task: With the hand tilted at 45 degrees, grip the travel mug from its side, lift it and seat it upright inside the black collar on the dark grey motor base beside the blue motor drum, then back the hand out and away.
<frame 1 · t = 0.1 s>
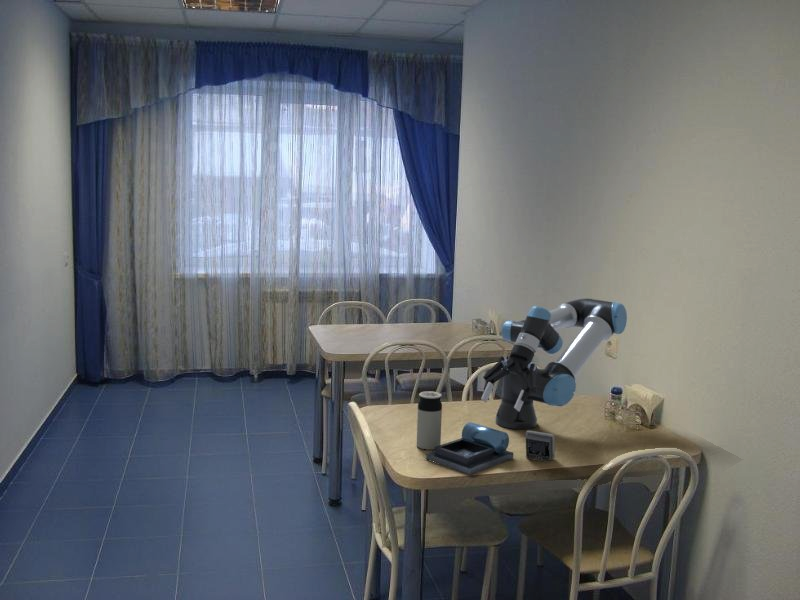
hand: (499, 405, 263), 15 cm above the table, tool tilted 35°, fingers open, 13 cm apart
motor base: (469, 459, 255), on the table
travel mug: (428, 447, 266), on the table
electrical switch: (539, 460, 257), on the table
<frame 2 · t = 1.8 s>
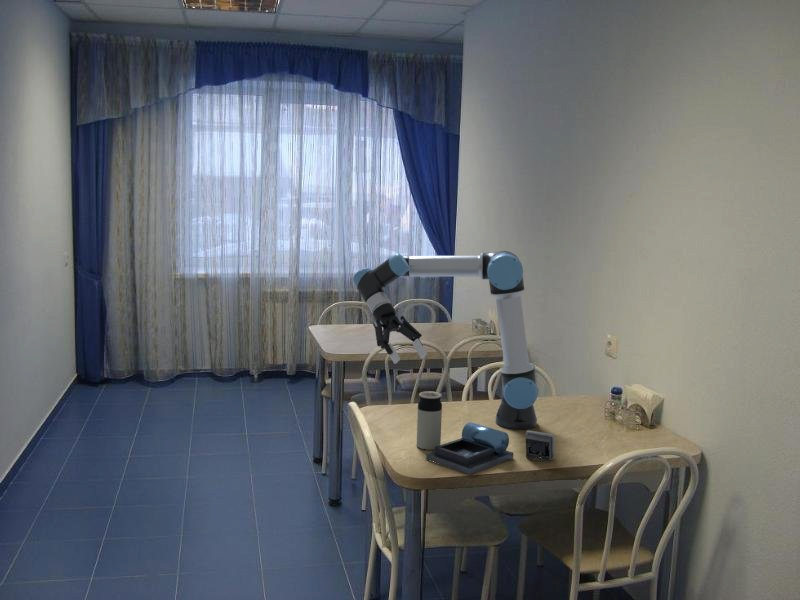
hand: (411, 359, 268), 28 cm above the table, tool tilted 45°, fingers open, 13 cm apart
nothing on the table moved.
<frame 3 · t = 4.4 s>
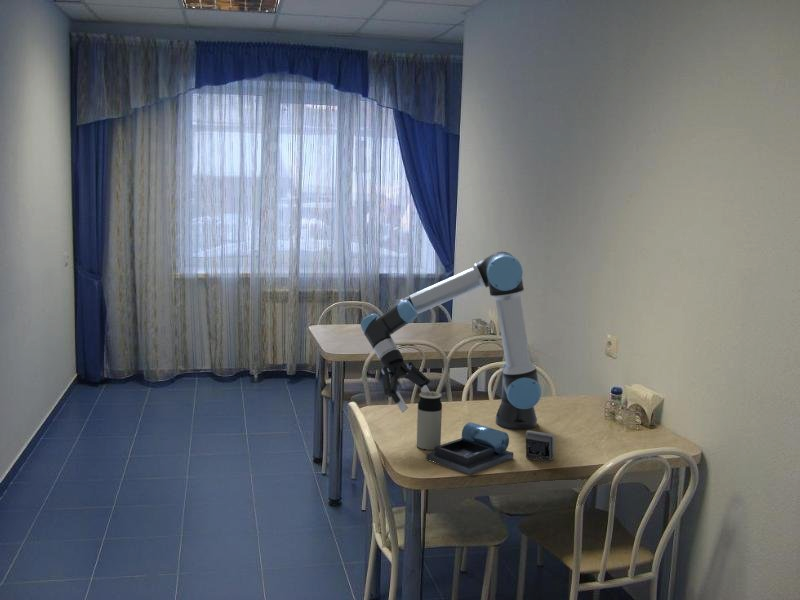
hand: (419, 406, 266), 13 cm above the table, tool tilted 45°, fingers open, 13 cm apart
nothing on the table moved.
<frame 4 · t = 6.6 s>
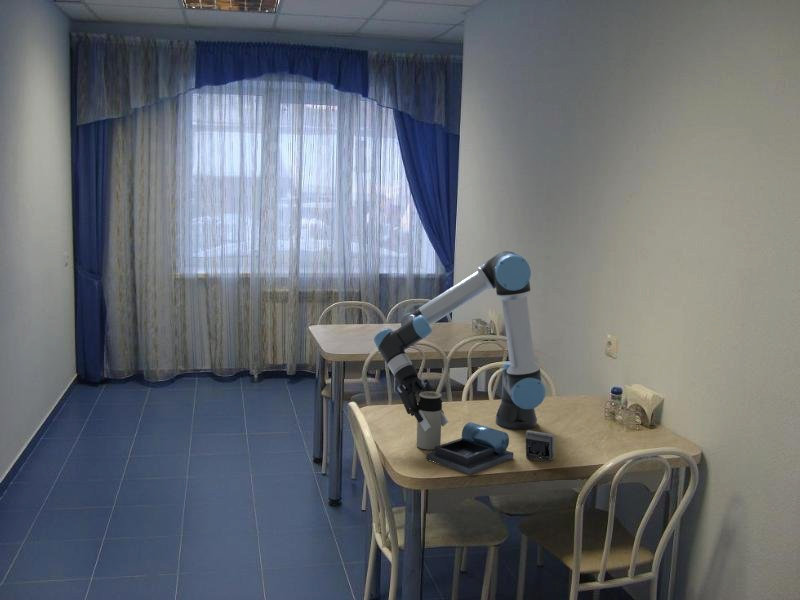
hand: (436, 426, 263), 8 cm above the table, tool tilted 45°, fingers closed on travel mug, 8 cm apart
travel mug: (428, 447, 266), on the table, touching gripper
everything else where it was.
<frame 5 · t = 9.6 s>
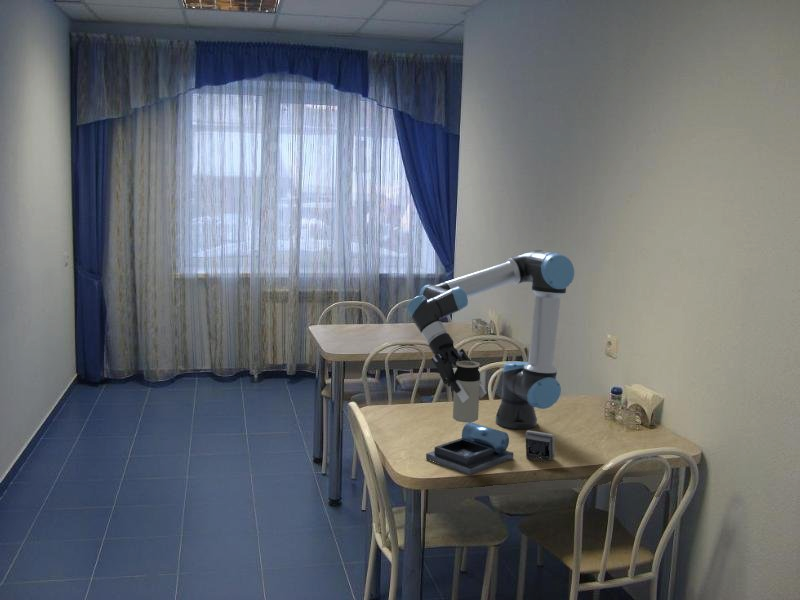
hand: (474, 397, 247), 21 cm above the table, tool tilted 45°, fingers closed on travel mug, 8 cm apart
travel mug: (465, 419, 251), point 14 cm above the table, touching gripper
everything else where it was.
when the fingers open (11 cm above the table, at t = 12.5 s): travel mug stays where it is, resting on motor base.
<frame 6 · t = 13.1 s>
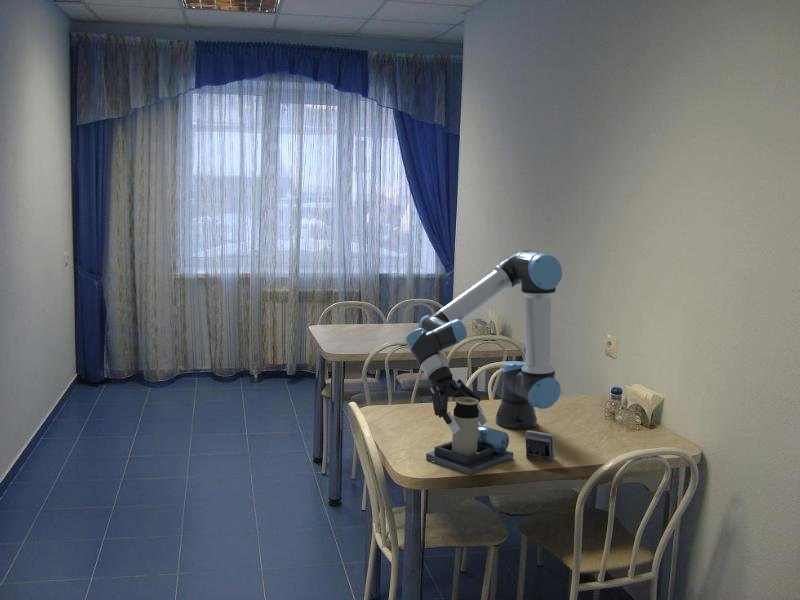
hand: (471, 427, 250), 12 cm above the table, tool tilted 45°, fingers open, 13 cm apart
travel mug: (464, 455, 253), point 2 cm above the table, touching motor base
everything else where it was.
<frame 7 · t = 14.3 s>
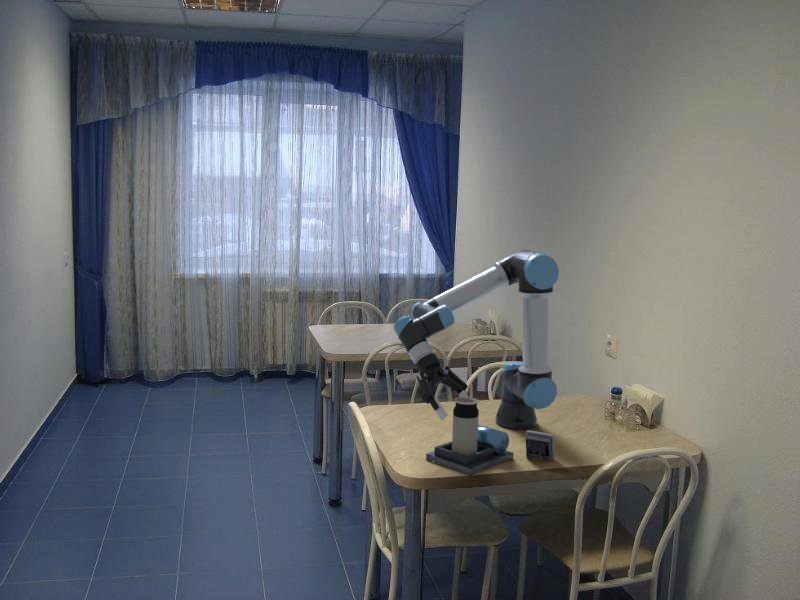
hand: (458, 413, 252), 15 cm above the table, tool tilted 45°, fingers open, 13 cm apart
nothing on the table moved.
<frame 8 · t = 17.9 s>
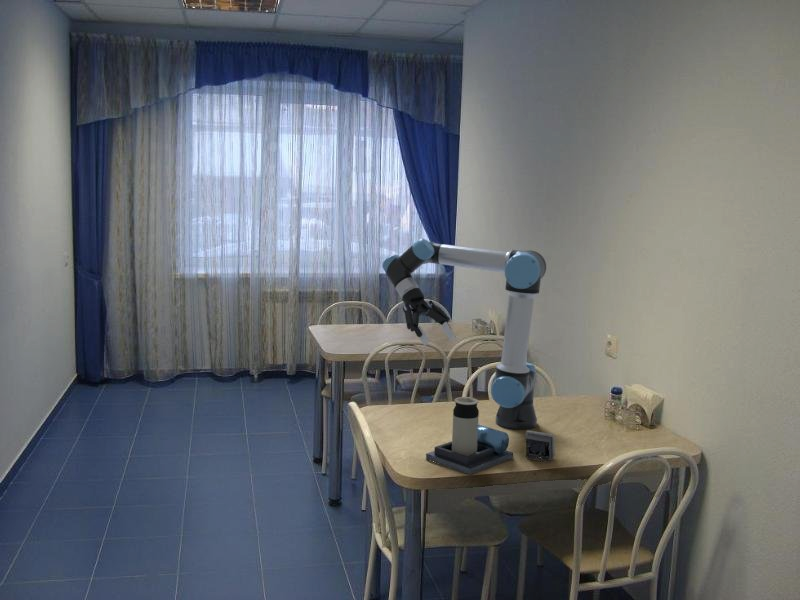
hand: (440, 341, 277), 33 cm above the table, tool tilted 45°, fingers open, 13 cm apart
nothing on the table moved.
at the end: travel mug 0.1 cm from the target spot on the motor base, point 1.8 cm above the motor base's base; travel mug tilted 0°; the gripper is holding nothing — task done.
